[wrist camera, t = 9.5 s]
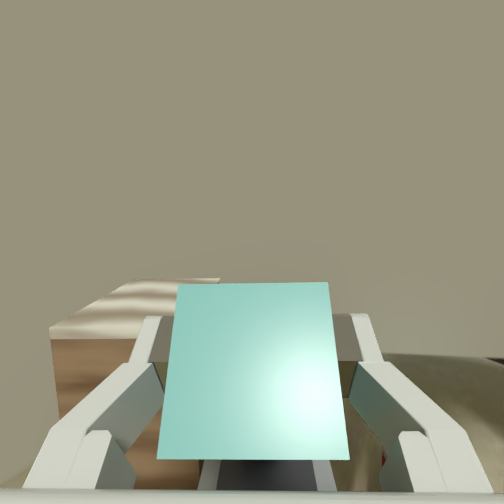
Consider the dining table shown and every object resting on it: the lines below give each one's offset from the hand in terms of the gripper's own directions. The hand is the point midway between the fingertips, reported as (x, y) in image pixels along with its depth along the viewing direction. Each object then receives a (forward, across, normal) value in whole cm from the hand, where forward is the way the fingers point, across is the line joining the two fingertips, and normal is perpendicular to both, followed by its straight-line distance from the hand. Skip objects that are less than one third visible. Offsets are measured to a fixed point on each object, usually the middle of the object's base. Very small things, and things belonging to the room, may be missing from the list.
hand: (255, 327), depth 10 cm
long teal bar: (0, 0, +10) cm, 10 cm away
